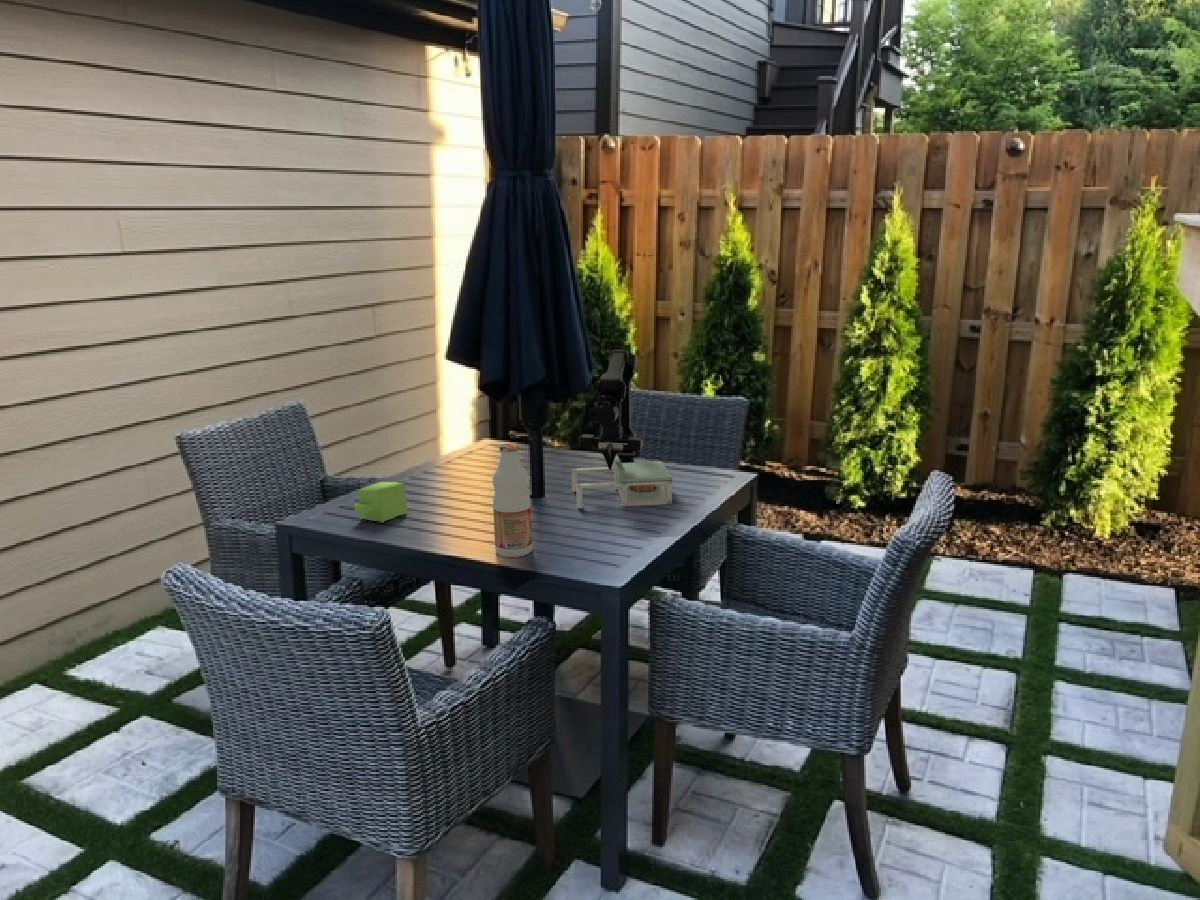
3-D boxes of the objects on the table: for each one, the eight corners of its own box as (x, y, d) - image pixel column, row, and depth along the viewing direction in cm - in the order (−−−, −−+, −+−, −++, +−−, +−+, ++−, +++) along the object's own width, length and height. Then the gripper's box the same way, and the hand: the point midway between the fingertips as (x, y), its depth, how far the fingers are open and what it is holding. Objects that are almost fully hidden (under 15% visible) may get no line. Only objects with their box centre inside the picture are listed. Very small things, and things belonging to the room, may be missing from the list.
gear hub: (632, 490, 291) (631, 474, 290) (652, 489, 292) (652, 473, 291) (634, 496, 285) (634, 480, 284) (655, 495, 286) (655, 479, 285)
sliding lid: (611, 466, 295) (611, 454, 294) (661, 463, 297) (661, 452, 296) (619, 482, 277) (619, 470, 276) (672, 480, 279) (672, 467, 278)
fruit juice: (487, 553, 242) (482, 446, 235) (514, 543, 249) (509, 439, 242) (513, 561, 236) (509, 451, 229) (540, 550, 243) (536, 444, 236)
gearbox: (391, 507, 284) (388, 476, 282) (417, 509, 280) (414, 478, 278) (349, 523, 269) (345, 490, 267) (376, 526, 264) (373, 493, 262)
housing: (572, 490, 296) (571, 468, 294) (661, 486, 299) (661, 464, 297) (577, 508, 278) (576, 485, 276) (671, 503, 280) (671, 481, 279)
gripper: (645, 415, 288) (644, 465, 292) (585, 412, 291) (584, 462, 295) (641, 422, 277) (639, 474, 281) (578, 419, 281) (577, 470, 284)
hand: (610, 470), depth 286 cm, fingers closed
